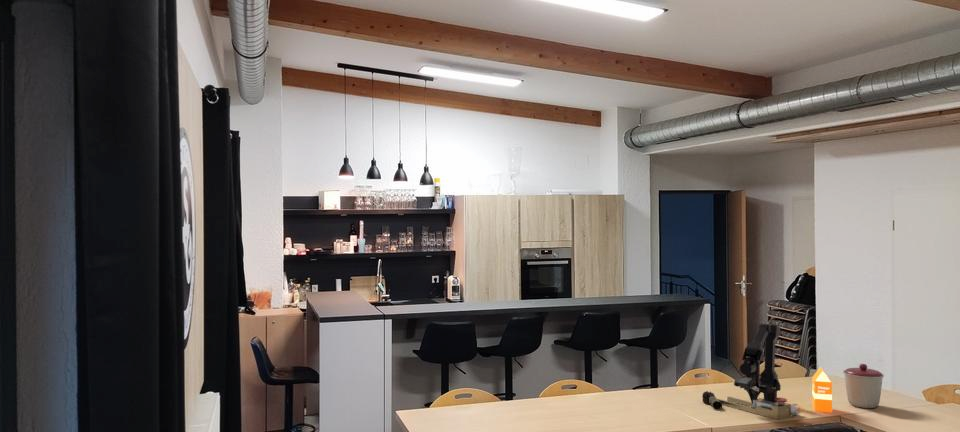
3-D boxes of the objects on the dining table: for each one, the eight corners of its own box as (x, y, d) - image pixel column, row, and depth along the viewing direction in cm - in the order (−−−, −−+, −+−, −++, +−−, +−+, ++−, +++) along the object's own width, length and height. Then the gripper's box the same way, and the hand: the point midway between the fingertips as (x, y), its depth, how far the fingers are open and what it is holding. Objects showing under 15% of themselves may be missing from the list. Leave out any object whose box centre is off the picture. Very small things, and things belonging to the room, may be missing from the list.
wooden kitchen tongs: (736, 398, 355) (736, 381, 355) (800, 415, 324) (800, 397, 324) (716, 403, 347) (716, 385, 347) (779, 420, 316) (779, 401, 316)
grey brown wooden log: (722, 410, 335) (722, 398, 335) (708, 409, 335) (708, 398, 335) (713, 400, 353) (712, 389, 353) (699, 400, 353) (699, 389, 353)
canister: (888, 405, 342) (888, 363, 342) (879, 412, 329) (879, 369, 329) (848, 399, 354) (848, 358, 354) (838, 406, 341) (838, 364, 341)
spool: (759, 409, 334) (759, 398, 334) (778, 414, 326) (778, 402, 326) (752, 411, 331) (752, 399, 331) (771, 416, 322) (771, 404, 322)
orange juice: (829, 407, 338) (829, 367, 338) (832, 412, 329) (832, 371, 330) (812, 406, 340) (811, 366, 341) (814, 411, 332) (814, 370, 332)
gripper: (726, 370, 338) (726, 401, 337) (759, 377, 322) (759, 410, 321) (741, 367, 343) (741, 398, 343) (774, 375, 327) (774, 407, 327)
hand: (753, 403), depth 334 cm, fingers closed
